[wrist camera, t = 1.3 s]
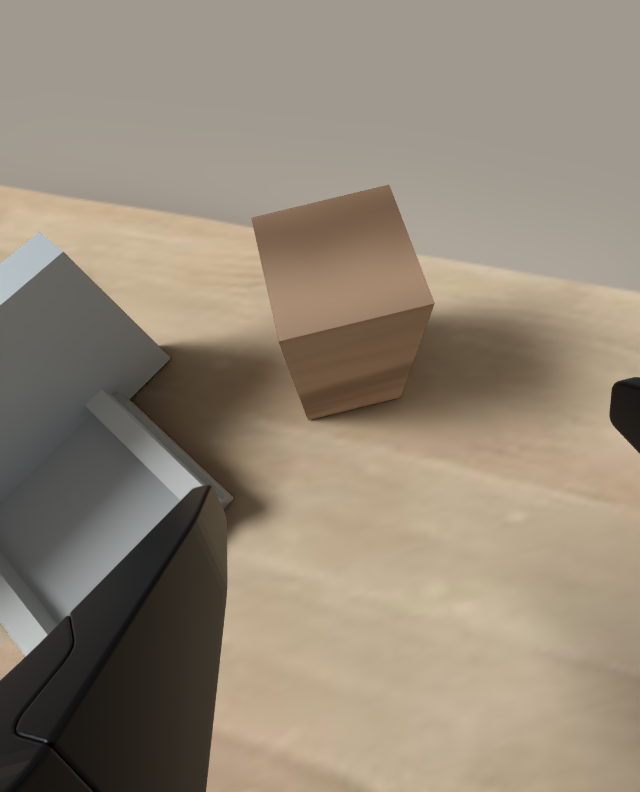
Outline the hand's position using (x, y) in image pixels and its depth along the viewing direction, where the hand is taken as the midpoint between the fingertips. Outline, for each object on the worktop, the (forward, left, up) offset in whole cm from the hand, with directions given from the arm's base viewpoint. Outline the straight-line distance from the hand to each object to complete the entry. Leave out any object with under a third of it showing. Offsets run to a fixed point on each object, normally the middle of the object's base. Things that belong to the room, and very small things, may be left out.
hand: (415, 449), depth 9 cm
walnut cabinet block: (+8, +2, -13) cm, 16 cm away
